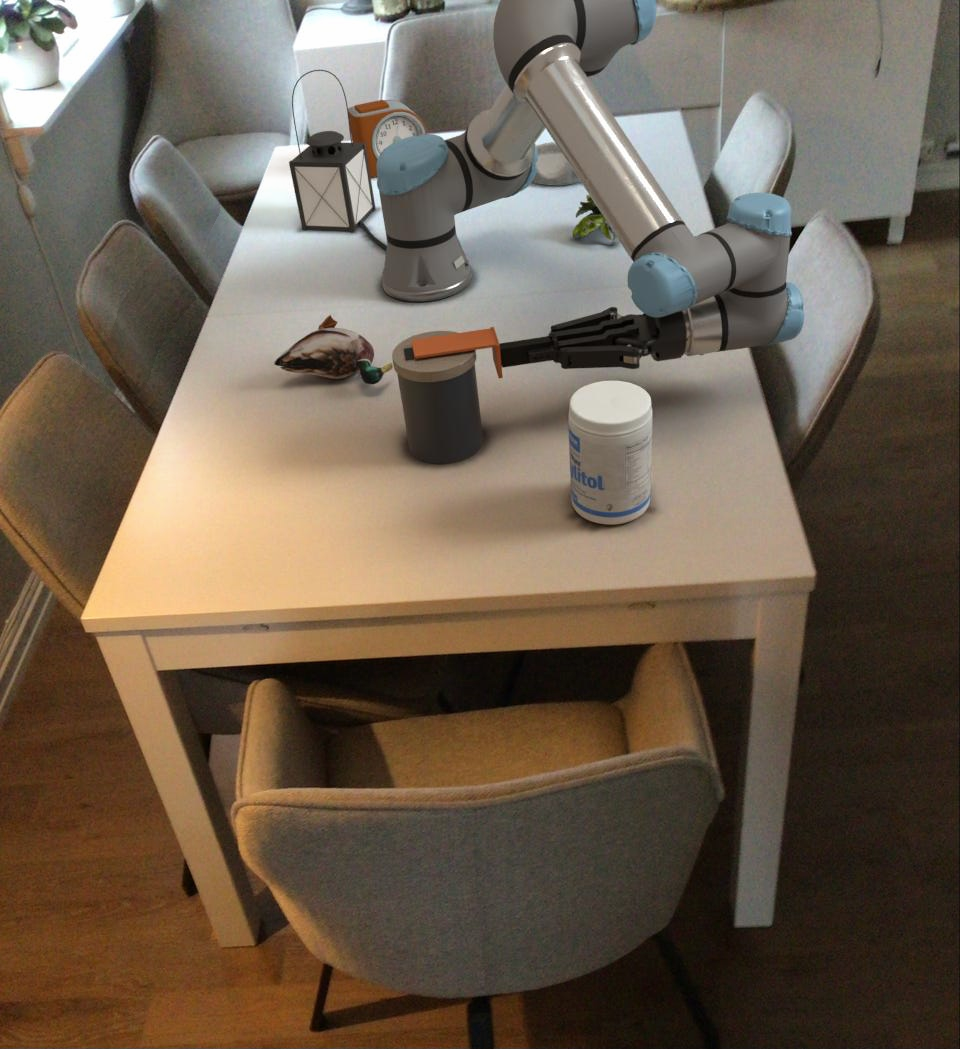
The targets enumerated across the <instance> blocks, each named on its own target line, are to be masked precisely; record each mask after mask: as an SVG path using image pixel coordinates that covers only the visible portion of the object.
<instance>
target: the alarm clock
mask: <svg viewBox="0 0 960 1049" xmlns="http://www.w3.org/2000/svg"><path fill="white" fill-rule="evenodd" d="M348 113H349V121H350V130H351V138H352V143H361V142H363V143H365V144H366V151H367V157H368V164H369V170H370V176H371V179H373V178H377V168H376V164H377V160H378V158H379V156H380V154H381V152H382V151H383V150H384V149H385V148H387V147H388V146H389V145H391V144H393V143H395V142H397V141H399V140H401V139H404V138H407V137H411V136H415V137H417V136H419V135H421V134H428V131H427V126H426V125H425V123H424V122H423V120H422V118H420V116H418V114H416V113H415V112H414V111H413V110H412V109H411V108H409V107H408V106H407V105H406V104H404V103H402V102H400V101H399V100H394V99H379V100H374V101H370V102H364V103H360V104H355V105H354V106H353V105H352V106H350V107H348ZM348 113H347V114H348Z"/></svg>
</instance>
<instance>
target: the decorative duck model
mask: <svg viewBox="0 0 960 1049" xmlns="http://www.w3.org/2000/svg"><path fill="white" fill-rule="evenodd" d="M338 322H339V321H337V320H335V319H334V318H333V317H332V314H329V315H328V316H327V317H325V319H324V320H323V321H322V323H321V324H319V325H318V328H317V329H316V330H314V331H312V332H310V333H308V334H307V335H305V336H304V337H302V338H300V339H299V340H297V341H296V342H295V343H293V344H292V345H291V346H290V347H288V348H287V349H286V350H285V351H283V352H282V353H281V354H280V355H279V356H278V357H277V358H276V359H275V361H274V363H273V364H274V365H275V366H276V367H277V366H278V367H280V369H281V370H283V371H286V372H290V373H295V374H296V373H297V374H305V375H314V376H319V377H323V378H328V379H335V380H340V379H345V378H348V377H350V376H353V375H354V374H356V373H359V376H360V378H361V380H362V382H364V384H367V385H375V384H378V383H379V382H380V381H381V380H382V379H383V376H384V375H385V374H386V373H388V372H390V371H391V370H393V362H392V363H391V362H390V363H387V364H386V365H384V366H382V367H378V366H374V365H373V366H372V363H373V361H374V358H375V350H374V347H373V345H372V344H371V342H369V341H368V340H367V339H366V338H365V337H363V335H361V334H359V333H358V332H356V331H353V330H351V329H348V328H342V327H336V326H337V324H338Z"/></svg>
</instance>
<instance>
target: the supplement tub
mask: <svg viewBox="0 0 960 1049" xmlns="http://www.w3.org/2000/svg"><path fill="white" fill-rule="evenodd" d="M567 418H568V419H567V420H568V450H569V451H568V452H569V477H570V478H569V479H570V500H571V504H572V507H573V510H575V511H576V513H577V514H578V515H579V516H580V517H582V518H584V519H585V520H587V521H589V522H592V523H595V524H601V525H612V526H615V525H622V524H626V523H629V522H631V521H635V520H636V519H638V518H639V517H641V516H642V515H643V514H644V513H645V512H646V511H647V510H648V508H649V505H650V504H651V503H650V502H651V488H652V487H651V484H652V449H653V448H652V447H653V444H652V443H653V408H652V398H651V396H650V394H649V393H648V392H647V391H646V389H644V388H642V387H641V386H639V385H637V384H634V383H632V382H627V381H622V380H600V381H596V382H592V383H589V384H587V385H584V386H582V387H580V388H579V389H577V390H576V391H575V392H574V393H573V394H572V395H571V397H570V400H569V410H568V417H567Z"/></svg>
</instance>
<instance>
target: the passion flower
mask: <svg viewBox="0 0 960 1049" xmlns="http://www.w3.org/2000/svg"><path fill="white" fill-rule="evenodd" d="M585 197H586V201H579V205H581V206H578V210H577V212H576V213H575V218H578V217H580V216H582V215H583V214H585V213H586V216H584V217H582V219H581V220H579V222H578V224H576V225H575V227H574V229H573V231H572V234H571V235H572V237H573V238H575V239H578V238H579V237H580V238H584V237H586V236H588V235H590V234H591V233H593V232H595V231H597V229H600V228H601V232H602V234H603V236H604V237H605V238H606V239H607V240H611V239H612V238H611V233H612V235H613V239H612V242H611V246H612V247H613V246H614V243H615V241H616V239H617V236H616V235H615V233H614V232H613V230H612V229H611V232H610V225H609V224H608V222H607V221H606V219H605V218H604V216H603V215H602V213H601V212H600V210H599V209H598V207H597V206H596V204H595V203H594V201H593V200H592V198H591V197H590V195H589V193H587V194H586V196H585ZM590 211H591V212H590ZM588 212H590V213H589V214H587V213H588Z"/></svg>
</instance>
